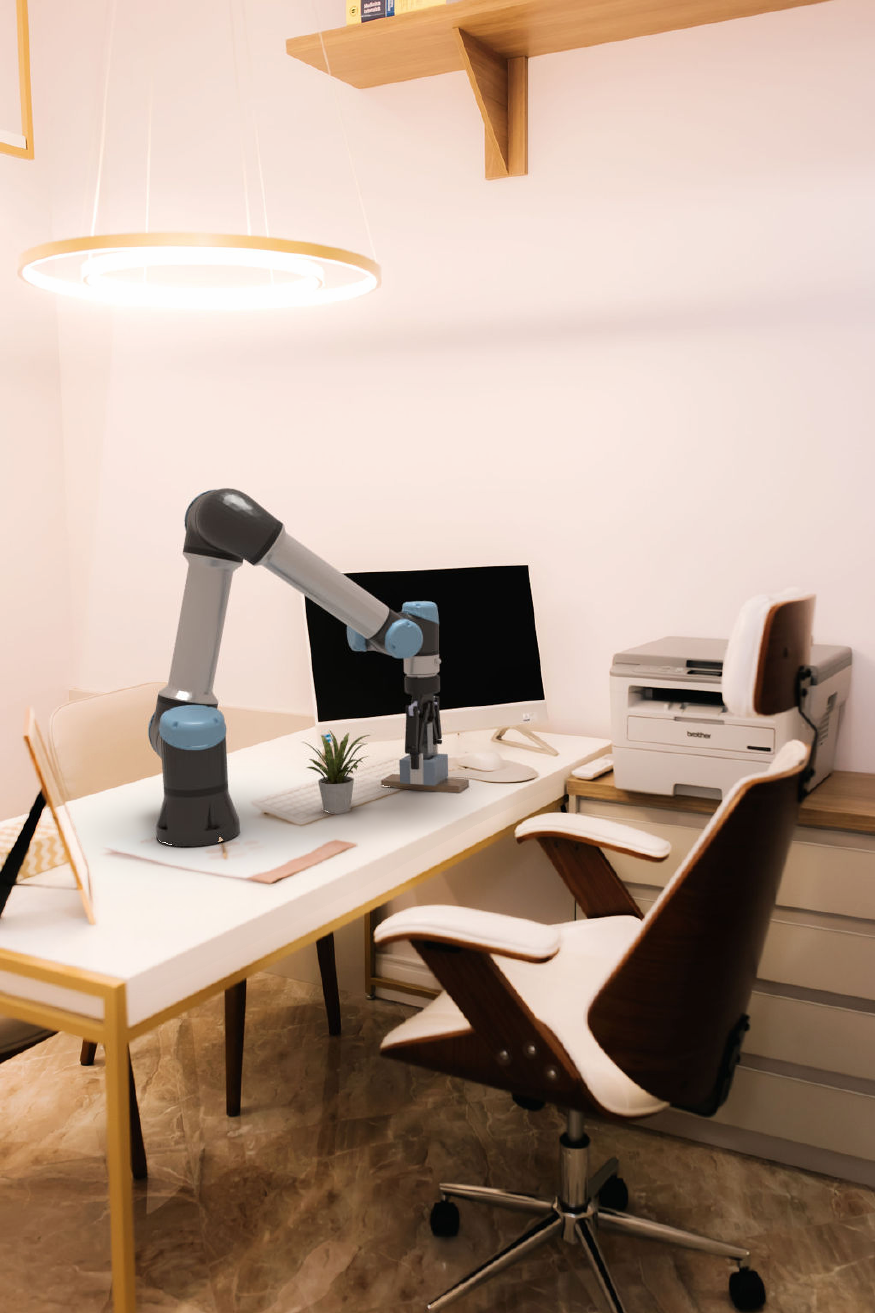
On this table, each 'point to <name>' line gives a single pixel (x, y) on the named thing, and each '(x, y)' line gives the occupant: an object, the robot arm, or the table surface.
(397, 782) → the keyed post
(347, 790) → the house plant
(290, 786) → the table surface
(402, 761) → the blue-grey hollow block
